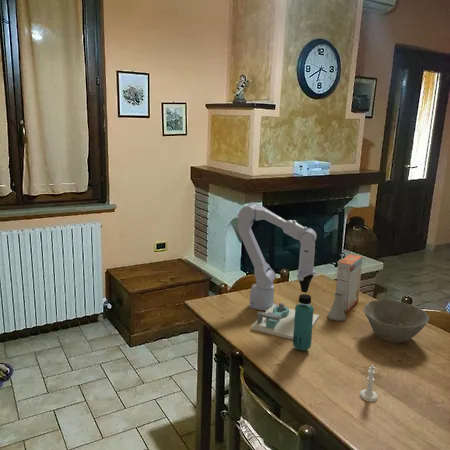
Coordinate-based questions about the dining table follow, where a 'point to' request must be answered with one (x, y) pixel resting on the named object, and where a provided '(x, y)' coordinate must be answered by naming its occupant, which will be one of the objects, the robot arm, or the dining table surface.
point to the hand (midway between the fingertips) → (304, 291)
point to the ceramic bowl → (395, 319)
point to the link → (273, 323)
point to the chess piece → (369, 387)
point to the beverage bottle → (303, 323)
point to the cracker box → (349, 280)
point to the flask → (337, 309)
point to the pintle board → (284, 324)
